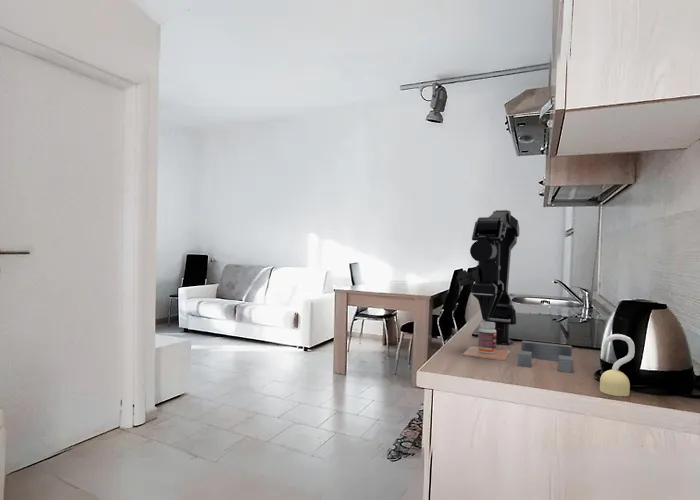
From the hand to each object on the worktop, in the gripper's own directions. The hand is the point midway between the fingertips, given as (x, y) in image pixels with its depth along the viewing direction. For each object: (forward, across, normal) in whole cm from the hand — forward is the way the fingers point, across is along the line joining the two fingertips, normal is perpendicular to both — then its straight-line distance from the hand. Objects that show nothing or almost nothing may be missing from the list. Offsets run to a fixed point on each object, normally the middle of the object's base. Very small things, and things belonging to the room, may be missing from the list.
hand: (487, 317), depth 120 cm
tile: (+10, 0, 0) cm, 10 cm away
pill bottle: (+10, 0, 0) cm, 10 cm away
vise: (+10, 0, +15) cm, 18 cm away
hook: (+10, +21, +29) cm, 37 cm away
